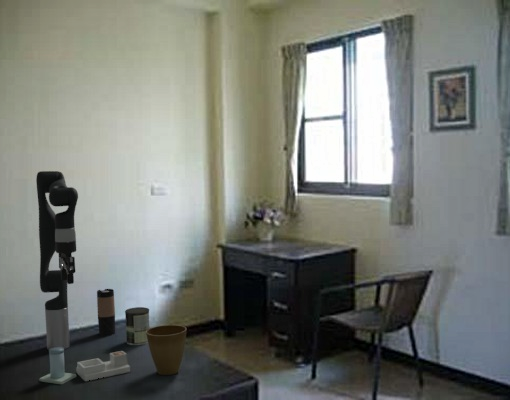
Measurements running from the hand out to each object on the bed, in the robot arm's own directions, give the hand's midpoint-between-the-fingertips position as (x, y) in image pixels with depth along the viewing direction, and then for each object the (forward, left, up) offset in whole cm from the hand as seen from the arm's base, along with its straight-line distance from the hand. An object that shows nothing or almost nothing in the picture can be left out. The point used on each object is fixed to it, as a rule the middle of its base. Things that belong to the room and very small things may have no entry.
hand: (67, 281), depth 237 cm
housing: (+14, +8, -33) cm, 37 cm away
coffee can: (-15, +33, -33) cm, 49 cm away
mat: (+11, -8, -33) cm, 36 cm away
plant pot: (+28, +28, -33) cm, 52 cm away
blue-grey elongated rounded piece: (+11, -8, -32) cm, 35 cm away
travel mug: (-36, +26, -33) cm, 56 cm away
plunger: (+14, +14, -31) cm, 37 cm away
